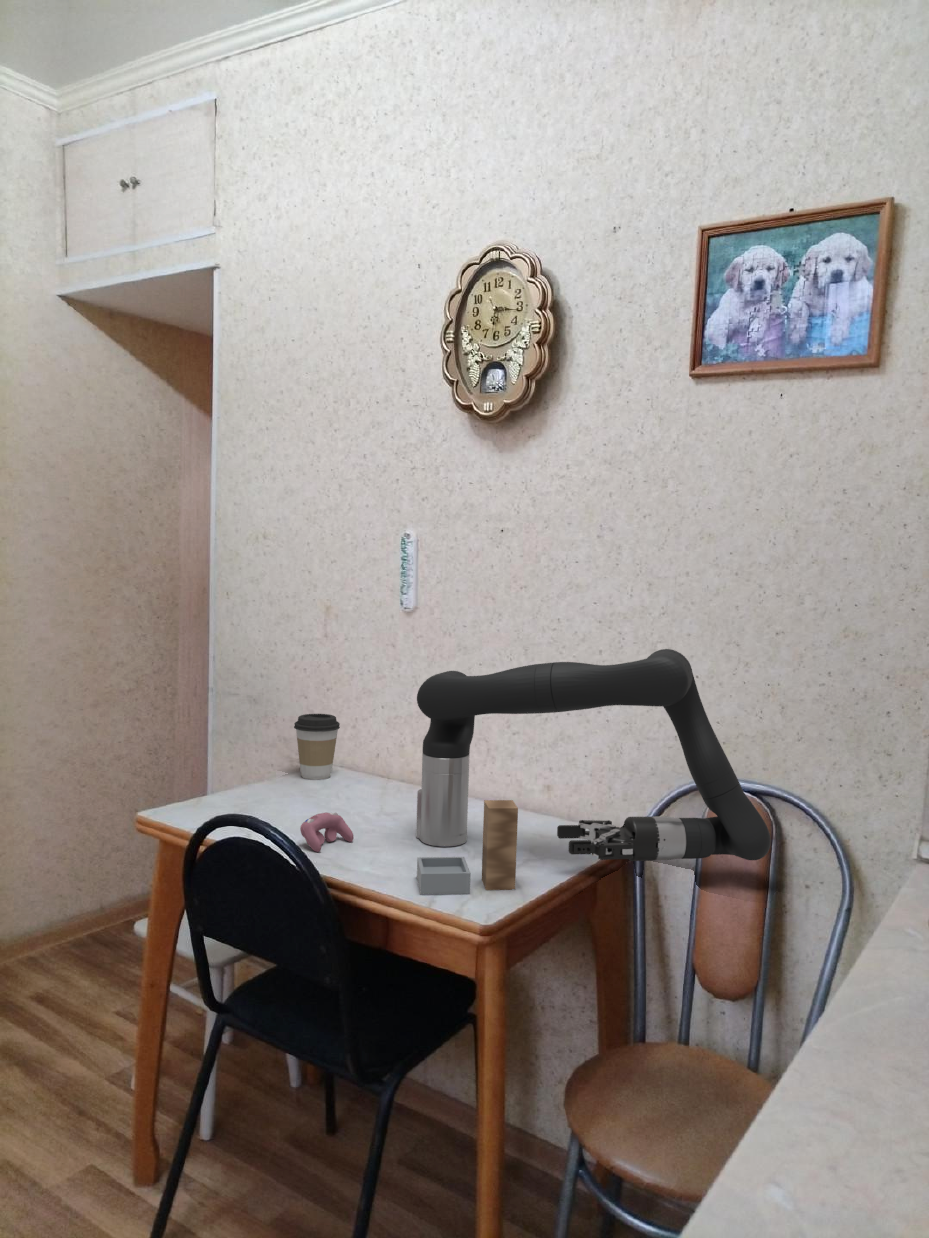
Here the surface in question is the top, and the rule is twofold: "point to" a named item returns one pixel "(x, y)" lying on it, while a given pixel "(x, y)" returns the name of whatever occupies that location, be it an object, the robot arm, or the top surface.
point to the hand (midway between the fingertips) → (563, 839)
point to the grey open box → (443, 875)
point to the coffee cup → (316, 744)
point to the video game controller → (330, 824)
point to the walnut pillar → (499, 844)
